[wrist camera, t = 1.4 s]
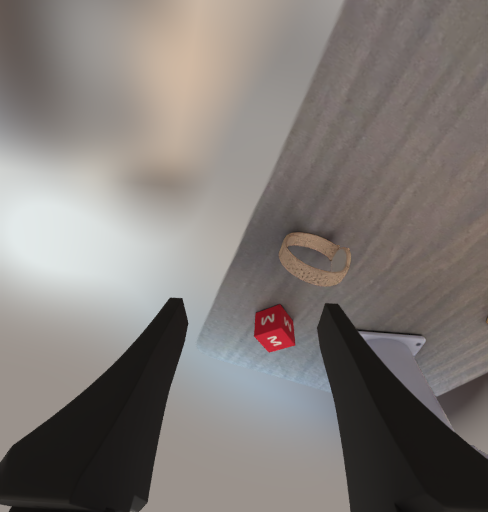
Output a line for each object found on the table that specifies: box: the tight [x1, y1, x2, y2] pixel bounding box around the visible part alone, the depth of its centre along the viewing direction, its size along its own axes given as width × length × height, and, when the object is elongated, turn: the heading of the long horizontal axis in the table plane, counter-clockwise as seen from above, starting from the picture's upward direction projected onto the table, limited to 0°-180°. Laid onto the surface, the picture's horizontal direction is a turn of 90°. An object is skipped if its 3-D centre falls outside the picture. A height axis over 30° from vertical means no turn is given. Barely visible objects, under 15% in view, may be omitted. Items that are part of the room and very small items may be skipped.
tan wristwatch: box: [279, 232, 351, 287], centre depth 17 cm, size 3×5×5 cm, turn 77°
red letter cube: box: [254, 304, 295, 352], centre depth 24 cm, size 3×3×3 cm
